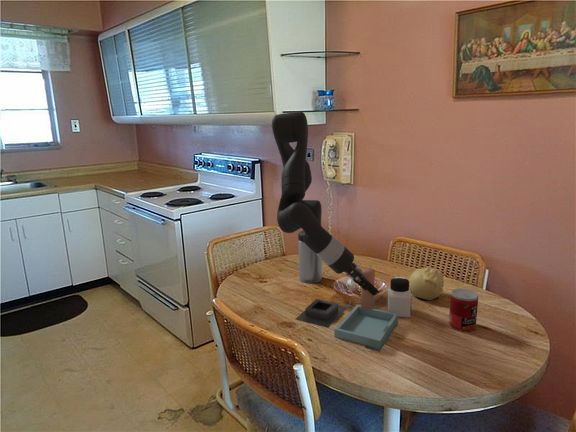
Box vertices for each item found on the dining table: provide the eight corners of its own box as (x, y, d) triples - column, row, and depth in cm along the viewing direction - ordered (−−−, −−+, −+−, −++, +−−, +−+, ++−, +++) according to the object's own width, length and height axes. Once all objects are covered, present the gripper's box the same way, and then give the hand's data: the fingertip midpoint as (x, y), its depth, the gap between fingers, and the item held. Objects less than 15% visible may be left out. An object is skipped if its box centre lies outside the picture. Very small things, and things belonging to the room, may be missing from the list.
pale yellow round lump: (439, 305, 143) (440, 276, 140) (404, 298, 149) (405, 270, 146) (446, 293, 152) (447, 265, 150) (413, 287, 158) (414, 260, 156)
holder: (316, 302, 148) (316, 293, 147) (347, 309, 142) (347, 300, 141) (294, 322, 135) (294, 312, 134) (328, 330, 129) (327, 320, 128)
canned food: (464, 334, 124) (466, 301, 121) (443, 323, 131) (445, 291, 128) (481, 328, 127) (484, 295, 124) (460, 317, 134) (462, 286, 131)
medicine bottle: (410, 318, 135) (412, 284, 132) (388, 316, 136) (389, 282, 133) (408, 308, 142) (410, 275, 139) (387, 306, 143) (388, 274, 140)
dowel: (363, 303, 128) (364, 267, 125) (375, 306, 126) (376, 269, 123) (358, 308, 124) (359, 271, 122) (371, 311, 122) (372, 273, 120)
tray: (356, 314, 138) (356, 305, 137) (397, 323, 131) (398, 313, 130) (334, 339, 123) (334, 329, 122) (379, 351, 116) (380, 340, 115)
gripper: (348, 252, 113) (390, 291, 117) (338, 238, 127) (376, 273, 131) (329, 272, 114) (372, 309, 118) (321, 255, 128) (359, 289, 131)
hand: (374, 290), depth 124 cm, fingers closed on dowel, 4 cm apart
